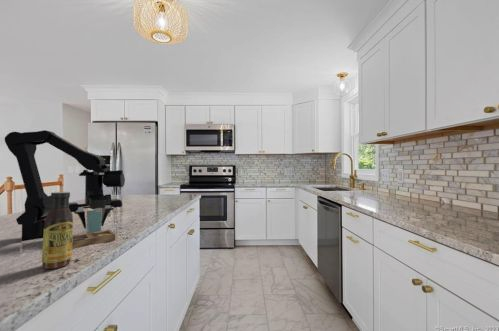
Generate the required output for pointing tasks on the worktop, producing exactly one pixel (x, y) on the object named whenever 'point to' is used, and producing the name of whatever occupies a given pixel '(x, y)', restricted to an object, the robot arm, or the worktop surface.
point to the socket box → (92, 238)
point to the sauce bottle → (58, 233)
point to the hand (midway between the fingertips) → (93, 227)
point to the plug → (93, 221)
